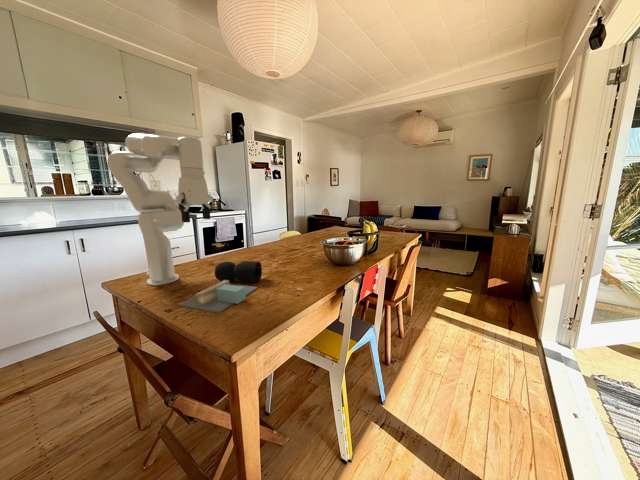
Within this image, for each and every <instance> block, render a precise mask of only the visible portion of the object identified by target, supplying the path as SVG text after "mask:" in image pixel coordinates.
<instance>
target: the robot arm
mask: <svg viewBox="0 0 640 480" xmlns="http://www.w3.org/2000/svg"><path fill="white" fill-rule="evenodd" d="M124 143H125V146H126V148H127V149H128V150H129V151H125V150H121V151H119V150H118V151H117V150H116V151H113V152H111V153H110V154H109V155H108V157H107V165H108V167H109V168H108V169H109V170H110V172H111V174H112V176H113V178H114V179H115V180H116V181H117V182H118V183H119V184H120V185H121V187H122V188H123V190H124V191H125V194H126V196H127V197H128V199H129V201H130V203H131V204H132V206H133V208H134V210H136V211H137V212H139V213H141V214H140V215H139V216H138V218H137V219H138V220H137V222H138V226H139V228H140V233H141V234H142V238H143V243H144V248H145V253H146V259H147V264H148V272H145V275H146V276H149V278H148V279H147V280H146V285H149V286H161V285H162V286H163V285H168V284H171V283H173V282H176V281H177V280H179V279H180V276H179V274H177V273H175V265H174V259H173V252H172V245H171V241H170V239H169V237H167V236H166V234H164V233H166V232H171V231H178V230H180V229H182V228H183V227H184V225H185V223H191V216H190V211H189V208H190V206H202V211H201V213H202V219H203V220H210V219H211V208H212V205H213V202H214V196H212V195H211V194H209V190H208V184H207V181H206V178H205V174H206V172H205V170H204V159H203V148H202V142H201V140H200V139H199V138H197V137H193V136H180V137H178V138H175V137H169V136H163V135H156V134H147V133H131V134H129V135H128V136H127V137H126V138H125V142H124ZM163 160H174V161H175V160H176V161H179V168H180V177H179V179H178V185H177V187H178V188H177V189H178V191H177V193H178V195H177V196H176V197H173V196H172V194H171V193H169V192H168V191H167V190H166V191H165V190H153V189H152V190H151V189H150V188H149V187H148V185H147V183H146V182H145V181H144V180H143V179H142V178H141V177H140V176H138V175H137V174H135V173H154V172H156V171H157V169H158V168H159V167H160V165H161V164H162V162H163Z"/></svg>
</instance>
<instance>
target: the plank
mask: <svg viewBox="0 0 640 480" xmlns="http://www.w3.org/2000/svg"><path fill="white" fill-rule="evenodd" d="M225 284H226V285H230V284H231V282H229V281H228V280H223V281H219V282H217V283H216V284H215V283H214V284H213V285H211V286H209V287H207V288H205V289H203V290H201V291H199V292H197V293H196V295H197V303H198V304H199V305H205V304H206V303H208V302H210V301H212V300H213V299H215V298H217V291H216V289H217V288H219V287H221V286H223V285H225ZM196 295H195V296H196Z"/></svg>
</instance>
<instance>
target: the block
mask: <svg viewBox="0 0 640 480" xmlns="http://www.w3.org/2000/svg"><path fill="white" fill-rule="evenodd" d="M216 291H217V300H218V301H224V302H230V303H234V304H236V305H237V304H240V303H242V302H243V301H245V300H246V298H247V296H245V287H241V286H234V285H226V284H225V285H223V286H221V287H219V288H217V289H216Z"/></svg>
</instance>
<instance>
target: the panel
mask: <svg viewBox="0 0 640 480" xmlns="http://www.w3.org/2000/svg"><path fill="white" fill-rule="evenodd" d="M230 285H234V286H241V287H245V296H246V297H247V296H248V295H250V294H251V293H253V292H254V291H256V290H258V288H259V287H258V286H251V285H244V284H236V283H230ZM234 304H235V303H230V302H224V301H218V300H217V298H215V299H213V300H212V301H210V302H208V303H206V304H205V305H199V304H198V303H197V295H194V296H192V297H190V298H188V299H186V300H184V301H181V302H179V303H178V306H179V307H184V308H189V309H195V310H200V311H206V312H209V313H210V312H211V313H216V314H220V313H222V312H223V311H225V310H226V309H228V308H230V307H231V306H233V305H234Z"/></svg>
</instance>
